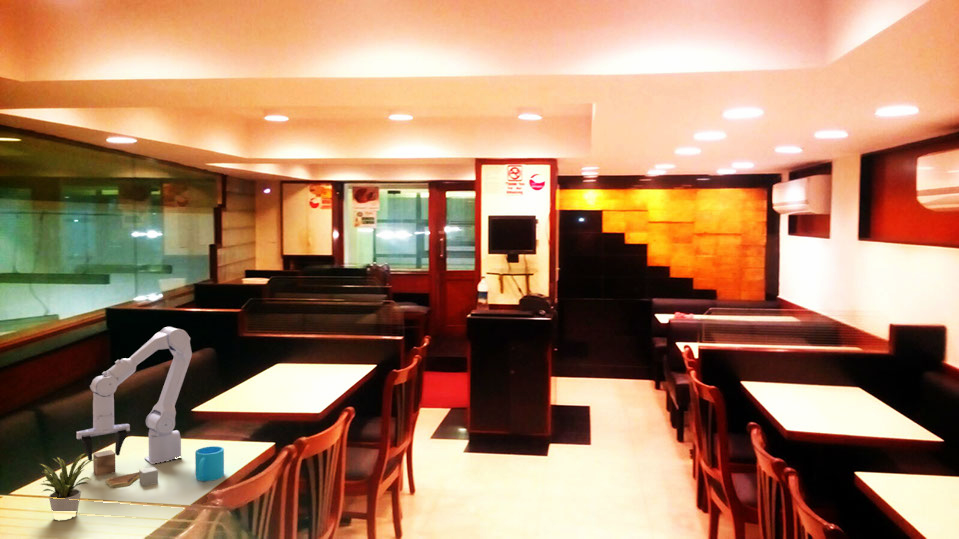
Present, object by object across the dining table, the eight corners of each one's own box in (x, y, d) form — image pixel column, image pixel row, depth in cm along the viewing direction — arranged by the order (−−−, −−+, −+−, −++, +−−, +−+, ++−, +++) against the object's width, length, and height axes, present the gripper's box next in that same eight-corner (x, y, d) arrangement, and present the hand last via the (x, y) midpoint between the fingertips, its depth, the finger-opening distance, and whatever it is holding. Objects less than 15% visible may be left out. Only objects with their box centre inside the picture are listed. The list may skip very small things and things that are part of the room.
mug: (202, 471, 207) (201, 446, 207) (227, 471, 207) (227, 446, 207) (185, 485, 195) (185, 458, 195) (213, 485, 195) (212, 458, 195)
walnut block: (111, 468, 209) (111, 449, 209) (115, 472, 206) (115, 453, 206) (93, 472, 206) (93, 453, 206) (97, 476, 202) (97, 457, 202)
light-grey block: (153, 479, 200) (153, 466, 200) (157, 483, 197) (157, 470, 197) (139, 482, 197) (139, 469, 197) (143, 486, 194) (143, 473, 194)
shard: (143, 475, 205) (143, 469, 205) (152, 481, 199) (152, 476, 199) (105, 484, 197) (105, 478, 197) (112, 491, 192) (112, 485, 192)
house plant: (103, 501, 182) (102, 443, 182) (101, 520, 170) (100, 458, 170) (42, 510, 176) (40, 450, 175) (35, 530, 163) (34, 466, 163)
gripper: (80, 420, 197) (80, 465, 198) (132, 413, 207) (132, 455, 208) (74, 416, 202) (75, 459, 203) (126, 408, 212) (126, 450, 213)
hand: (103, 457), depth 206 cm, fingers open, 7 cm apart
